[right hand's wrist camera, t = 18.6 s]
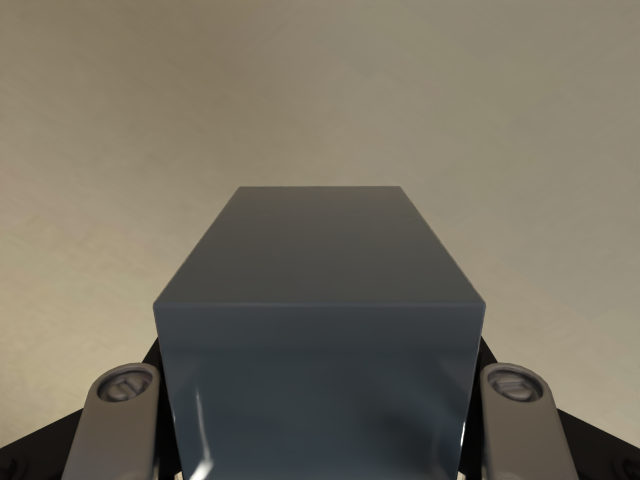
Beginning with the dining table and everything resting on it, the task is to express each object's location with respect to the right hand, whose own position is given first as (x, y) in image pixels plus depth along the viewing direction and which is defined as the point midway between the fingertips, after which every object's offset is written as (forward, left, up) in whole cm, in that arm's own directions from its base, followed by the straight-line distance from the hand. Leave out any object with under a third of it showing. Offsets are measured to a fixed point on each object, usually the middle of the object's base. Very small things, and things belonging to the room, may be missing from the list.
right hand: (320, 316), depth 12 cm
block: (0, 0, -2) cm, 2 cm away
